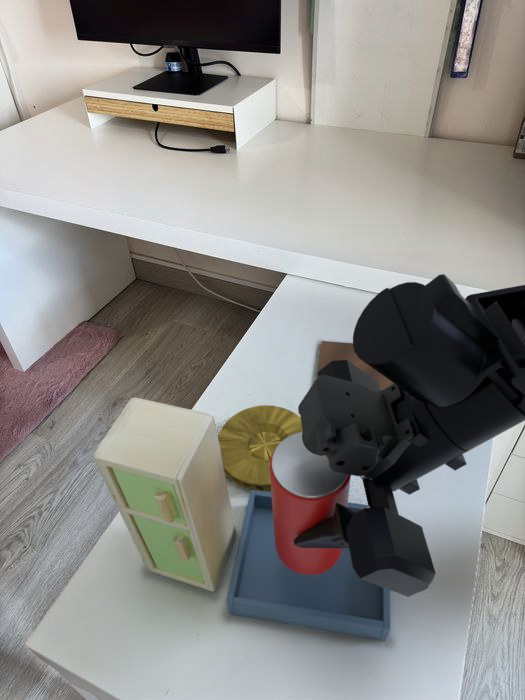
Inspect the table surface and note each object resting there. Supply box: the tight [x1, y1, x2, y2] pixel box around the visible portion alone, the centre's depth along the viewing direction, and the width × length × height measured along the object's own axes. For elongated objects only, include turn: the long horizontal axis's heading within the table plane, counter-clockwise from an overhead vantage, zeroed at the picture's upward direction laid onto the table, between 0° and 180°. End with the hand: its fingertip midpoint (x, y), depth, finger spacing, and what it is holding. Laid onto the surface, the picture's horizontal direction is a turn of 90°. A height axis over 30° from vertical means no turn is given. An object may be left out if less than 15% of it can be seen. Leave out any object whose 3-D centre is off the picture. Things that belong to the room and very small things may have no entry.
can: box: [269, 432, 352, 575], centre depth 44 cm, size 6×6×13 cm
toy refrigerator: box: [92, 397, 237, 593], centre depth 47 cm, size 8×7×21 cm
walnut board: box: [316, 340, 395, 390], centre depth 72 cm, size 16×14×1 cm
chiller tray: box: [226, 489, 391, 641], centre depth 52 cm, size 15×12×3 cm
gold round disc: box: [217, 404, 303, 492], centre depth 63 cm, size 12×12×2 cm
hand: (293, 506), depth 44 cm, fingers closed on can, 6 cm apart
